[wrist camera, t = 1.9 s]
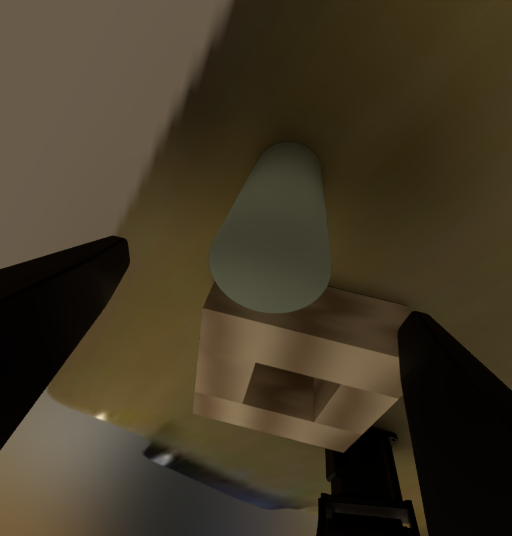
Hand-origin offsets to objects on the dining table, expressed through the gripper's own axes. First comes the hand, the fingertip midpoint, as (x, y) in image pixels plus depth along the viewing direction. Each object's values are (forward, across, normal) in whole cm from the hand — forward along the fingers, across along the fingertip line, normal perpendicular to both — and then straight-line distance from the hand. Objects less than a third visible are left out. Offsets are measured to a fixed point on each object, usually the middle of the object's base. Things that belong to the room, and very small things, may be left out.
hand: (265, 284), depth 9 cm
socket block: (+10, -4, +14) cm, 17 cm away
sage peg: (+10, 0, 0) cm, 10 cm away
